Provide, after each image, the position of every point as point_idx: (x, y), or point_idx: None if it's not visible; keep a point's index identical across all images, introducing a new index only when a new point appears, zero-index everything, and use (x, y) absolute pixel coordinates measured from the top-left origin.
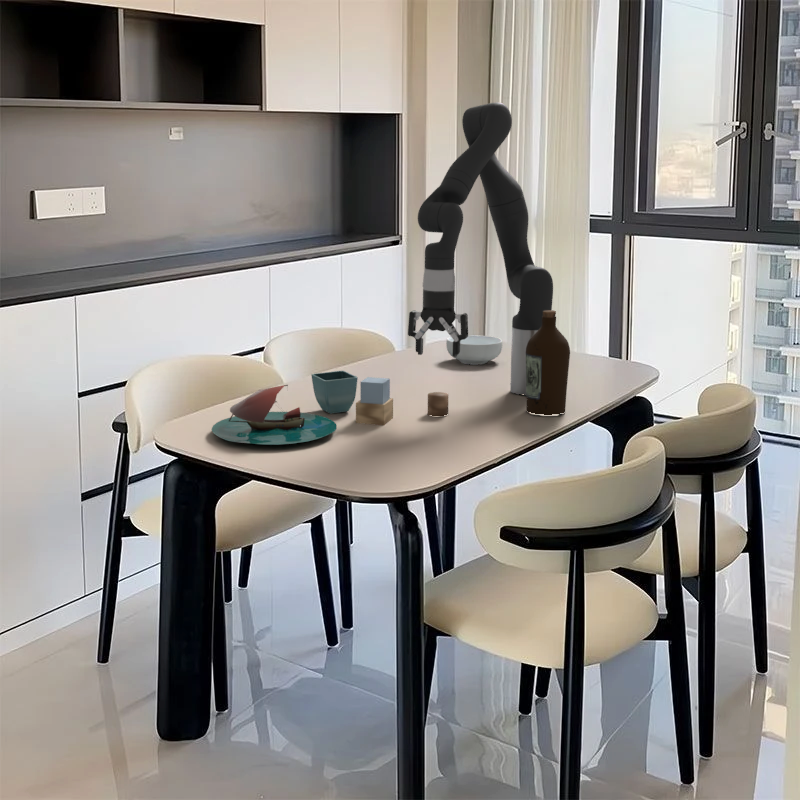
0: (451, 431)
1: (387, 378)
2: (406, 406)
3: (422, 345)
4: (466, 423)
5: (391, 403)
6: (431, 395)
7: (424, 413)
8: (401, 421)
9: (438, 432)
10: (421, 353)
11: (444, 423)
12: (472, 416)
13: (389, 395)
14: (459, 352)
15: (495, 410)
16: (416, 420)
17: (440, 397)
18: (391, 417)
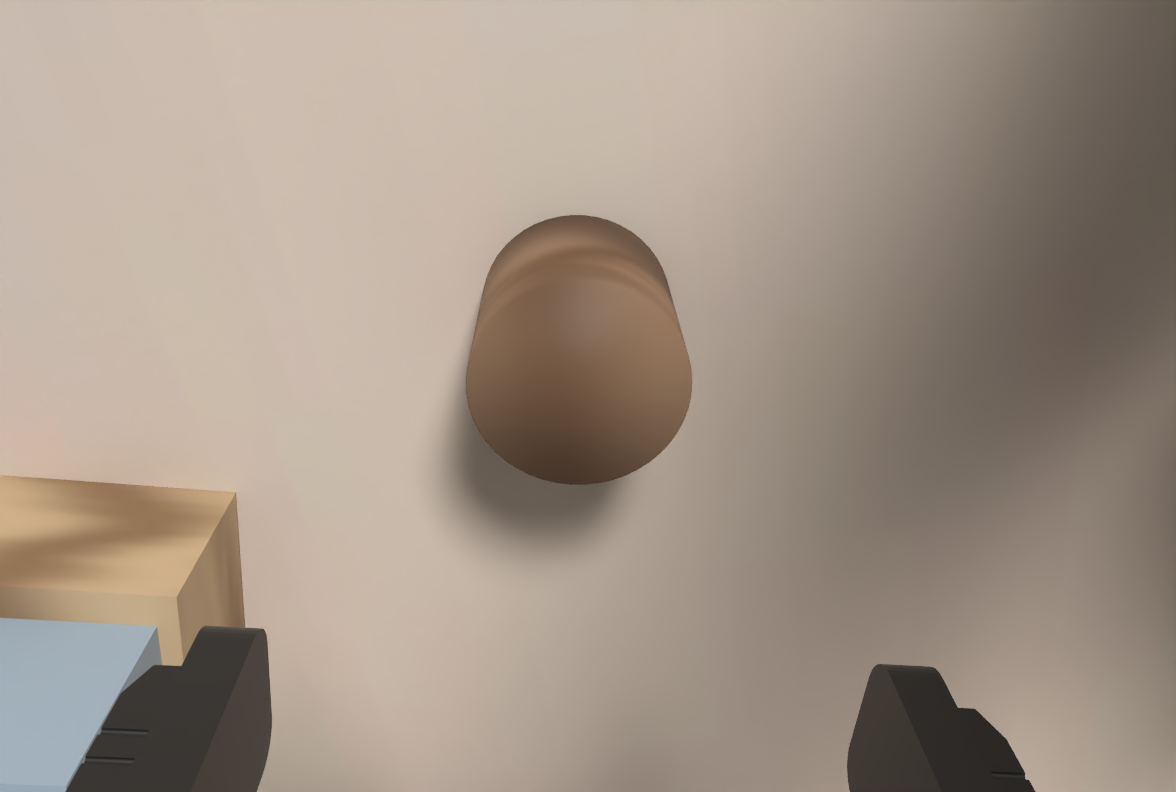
0: (741, 722)
1: (39, 789)
2: (196, 50)
3: (218, 779)
4: (840, 525)
5: (193, 616)
6: (518, 442)
7: (450, 294)
8: (334, 566)
9: (657, 755)
10: (265, 711)
11: (671, 556)
12: (889, 311)
13: (143, 658)
14: (991, 741)
15: (1130, 32)
16: (440, 519)
17: (619, 474)
18: (233, 540)
